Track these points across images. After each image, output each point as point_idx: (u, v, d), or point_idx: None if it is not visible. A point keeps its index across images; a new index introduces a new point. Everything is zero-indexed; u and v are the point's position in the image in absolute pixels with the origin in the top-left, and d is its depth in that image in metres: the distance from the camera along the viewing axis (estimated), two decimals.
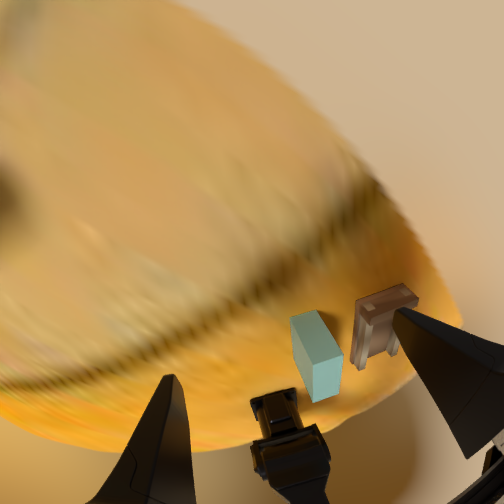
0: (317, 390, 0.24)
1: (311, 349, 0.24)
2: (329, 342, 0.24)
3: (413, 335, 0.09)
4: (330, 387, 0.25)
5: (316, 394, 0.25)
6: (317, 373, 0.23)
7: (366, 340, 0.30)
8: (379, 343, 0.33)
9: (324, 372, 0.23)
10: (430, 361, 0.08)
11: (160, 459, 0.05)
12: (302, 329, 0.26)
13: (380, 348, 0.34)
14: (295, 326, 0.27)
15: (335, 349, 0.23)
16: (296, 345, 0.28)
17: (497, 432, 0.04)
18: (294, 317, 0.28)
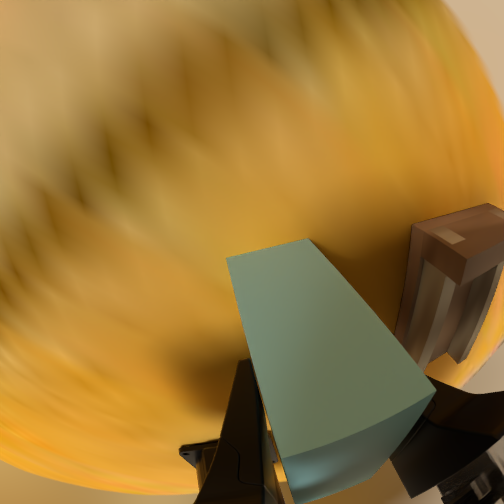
0: (308, 493, 0.06)
1: (284, 370, 0.05)
2: (367, 336, 0.05)
3: None
4: (350, 480, 0.06)
5: (305, 497, 0.06)
6: (308, 471, 0.04)
7: (433, 330, 0.11)
8: (441, 339, 0.14)
9: (339, 463, 0.04)
10: None
11: (262, 444, 0.06)
12: (259, 290, 0.08)
13: (440, 349, 0.15)
14: (236, 281, 0.08)
15: (396, 368, 0.04)
16: None
17: (437, 482, 0.04)
18: (240, 257, 0.09)
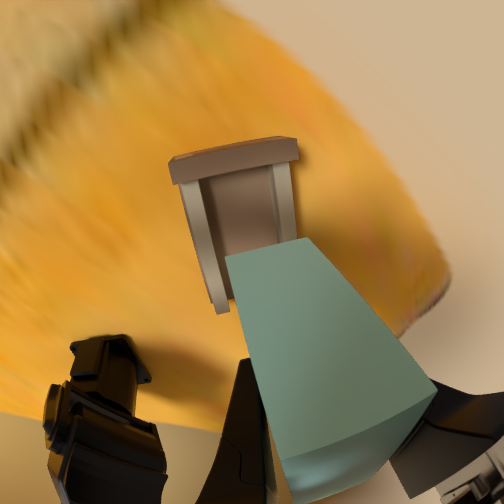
0: (308, 494, 0.05)
1: (282, 370, 0.05)
2: (367, 336, 0.05)
3: None
4: (351, 480, 0.06)
5: (305, 498, 0.06)
6: (307, 473, 0.04)
7: (199, 235, 0.17)
8: None
9: (339, 464, 0.04)
10: None
11: (263, 444, 0.06)
12: (257, 288, 0.07)
13: None
14: (235, 280, 0.08)
15: (397, 368, 0.04)
16: None
17: (435, 483, 0.04)
18: (239, 256, 0.09)
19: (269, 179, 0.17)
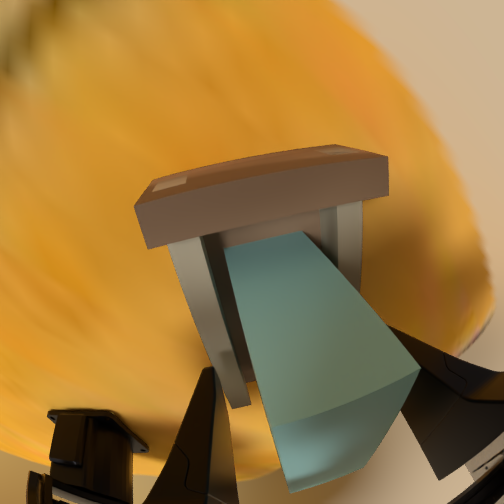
0: (302, 477, 0.06)
1: (275, 347, 0.06)
2: (355, 318, 0.06)
3: None
4: (343, 465, 0.06)
5: (299, 483, 0.06)
6: (299, 448, 0.05)
7: (203, 321, 0.09)
8: None
9: (330, 441, 0.05)
10: None
11: (213, 454, 0.06)
12: (254, 276, 0.08)
13: None
14: (233, 269, 0.09)
15: (382, 347, 0.05)
16: (244, 334, 0.10)
17: (468, 458, 0.04)
18: (237, 248, 0.10)
19: (321, 219, 0.10)
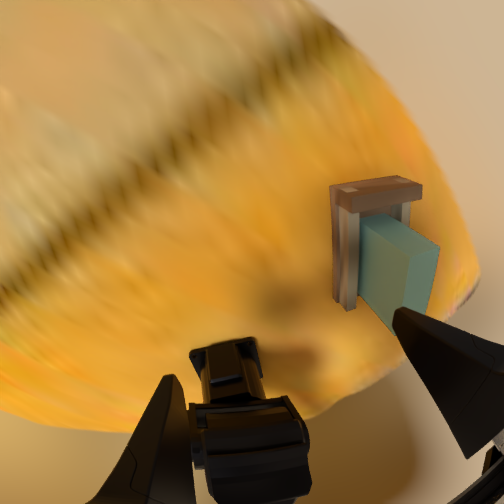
0: None
1: (399, 243, 0.17)
2: (417, 237, 0.17)
3: (413, 335, 0.09)
4: (417, 309, 0.18)
5: None
6: (411, 276, 0.16)
7: (352, 250, 0.21)
8: None
9: (418, 276, 0.16)
10: (430, 361, 0.08)
11: (160, 459, 0.05)
12: (378, 227, 0.19)
13: None
14: (368, 225, 0.20)
15: (428, 243, 0.16)
16: (367, 256, 0.21)
17: (497, 432, 0.04)
18: (362, 219, 0.21)
19: (392, 208, 0.21)
